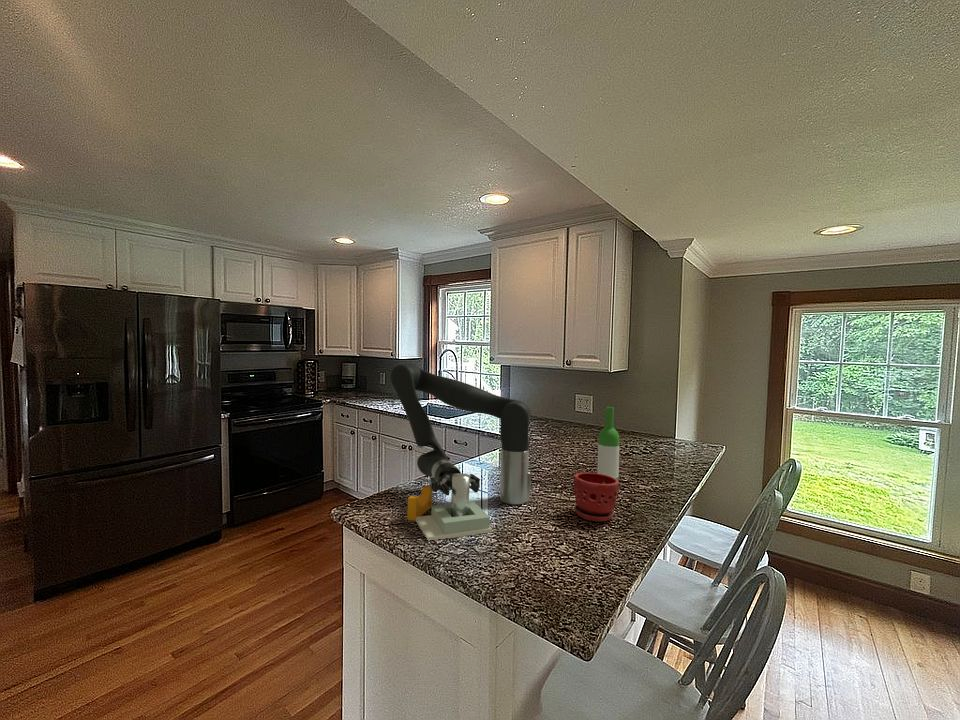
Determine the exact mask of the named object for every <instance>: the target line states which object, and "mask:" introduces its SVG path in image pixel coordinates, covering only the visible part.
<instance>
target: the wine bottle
mask: <svg viewBox="0 0 960 720" xmlns="http://www.w3.org/2000/svg"><path fill="white" fill-rule="evenodd" d="M614 413H615V408H614V407H613V406H606V407H605V423H604V424H605V426H604V428H602V429H601V430H600V431H599V433H598V446H597V470H596V471H597V472H596V473H598V474H603V475H607V476H610V477H613V478H615V479H617V480H618V481H619V471H620V470H619V469H620V467H619V466H620V461H619V460H620V435H619V432H618V431H617V430H616V428H614ZM603 484H605V482H603Z"/></svg>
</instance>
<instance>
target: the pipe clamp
mask: <svg viewBox="0 0 960 720" xmlns="http://www.w3.org/2000/svg"><path fill="white" fill-rule="evenodd" d="M432 506H433V490H432V489H431V487H430V485H429V486H428V485H424V486H422V487H421V495H419V494H418V496H414V495H409V497H408V498H407V512H406V513H407V515H406V516H407V517H406V519H407V520H408V521H414V522H416V517H420V516H424V514H425V513H426V512H427V511H428V510H431V509H432Z"/></svg>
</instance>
